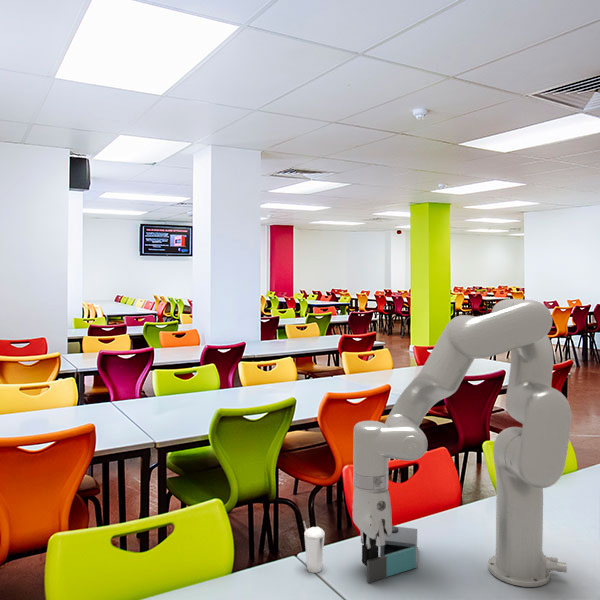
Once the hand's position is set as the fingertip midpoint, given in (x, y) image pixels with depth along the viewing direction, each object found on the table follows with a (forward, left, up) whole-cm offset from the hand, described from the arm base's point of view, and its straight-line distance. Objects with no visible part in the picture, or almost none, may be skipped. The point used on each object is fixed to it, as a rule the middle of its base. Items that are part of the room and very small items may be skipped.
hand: (370, 563), depth 119 cm
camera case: (-5, -11, -3) cm, 12 cm away
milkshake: (+13, 0, -3) cm, 13 cm away
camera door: (-5, -1, -2) cm, 6 cm away
